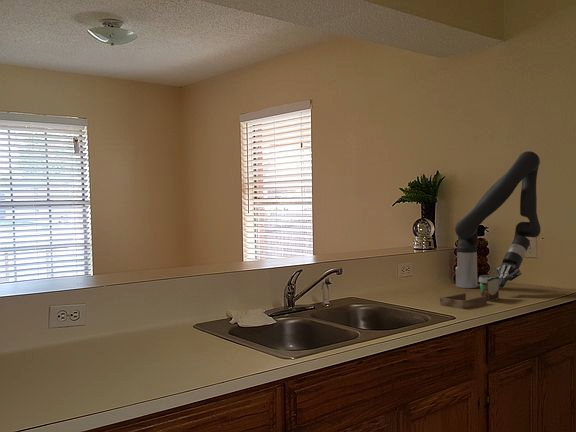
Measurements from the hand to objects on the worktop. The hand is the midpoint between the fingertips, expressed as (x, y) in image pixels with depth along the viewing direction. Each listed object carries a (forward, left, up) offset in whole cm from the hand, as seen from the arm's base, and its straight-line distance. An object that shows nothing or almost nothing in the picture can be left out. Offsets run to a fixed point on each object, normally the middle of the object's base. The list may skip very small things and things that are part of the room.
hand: (499, 286), depth 235 cm
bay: (0, -26, -4) cm, 26 cm away
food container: (0, -10, -5) cm, 11 cm away
